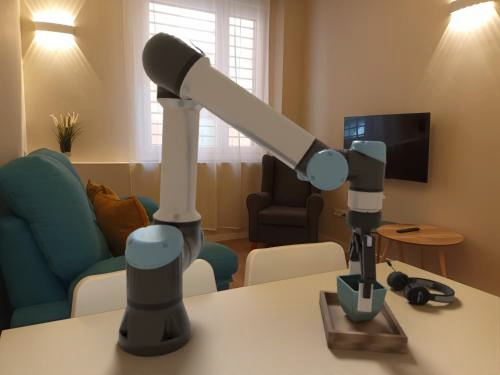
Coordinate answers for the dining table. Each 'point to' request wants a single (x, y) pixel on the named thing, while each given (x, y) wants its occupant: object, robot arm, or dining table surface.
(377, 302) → the flower pot
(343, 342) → the holder tray
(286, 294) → the dining table surface
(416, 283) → the headset
